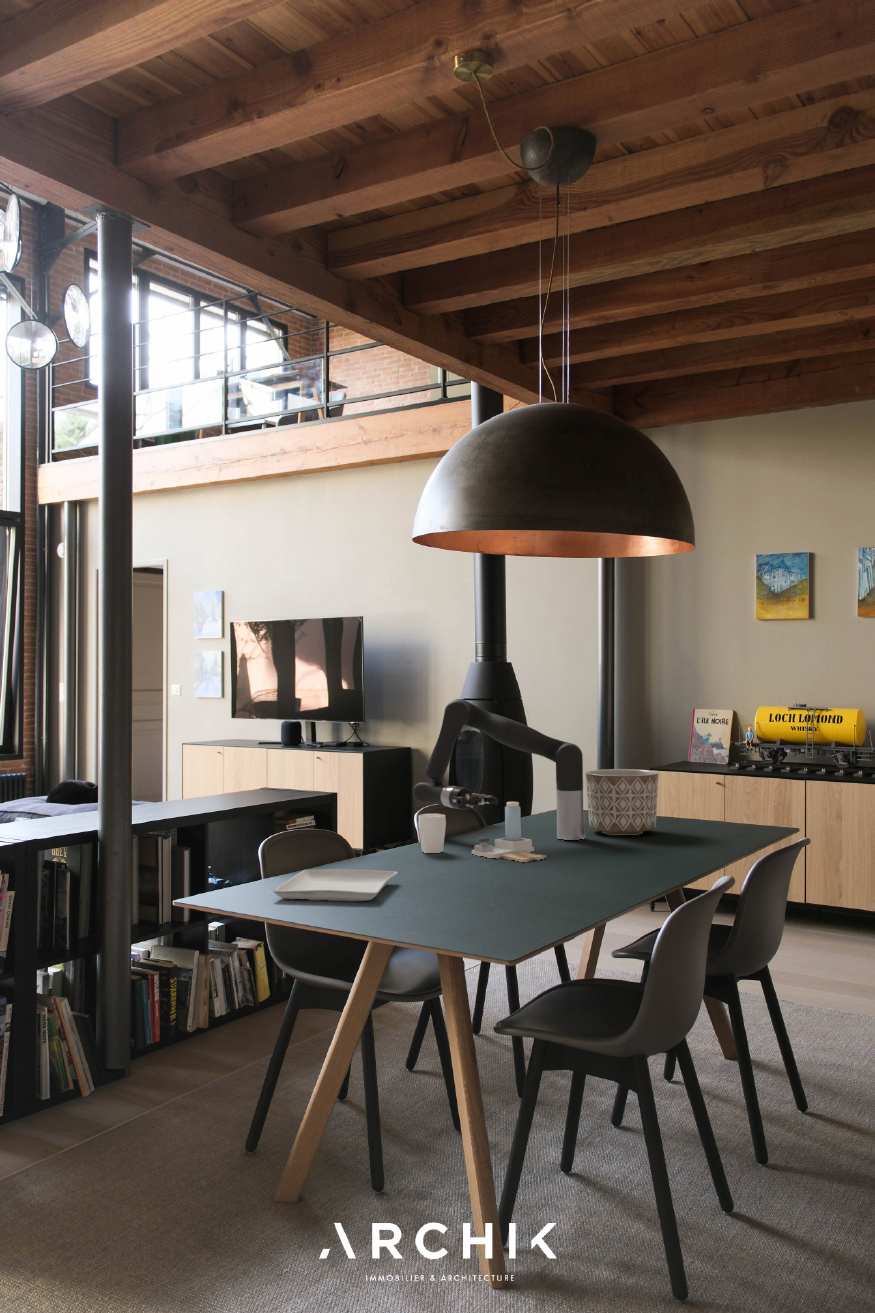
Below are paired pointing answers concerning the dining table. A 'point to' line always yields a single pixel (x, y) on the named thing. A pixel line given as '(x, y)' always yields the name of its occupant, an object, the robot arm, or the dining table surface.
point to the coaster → (523, 856)
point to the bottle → (512, 822)
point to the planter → (622, 800)
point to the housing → (503, 848)
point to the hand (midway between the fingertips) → (487, 802)
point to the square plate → (335, 884)
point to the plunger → (483, 841)
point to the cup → (432, 832)
